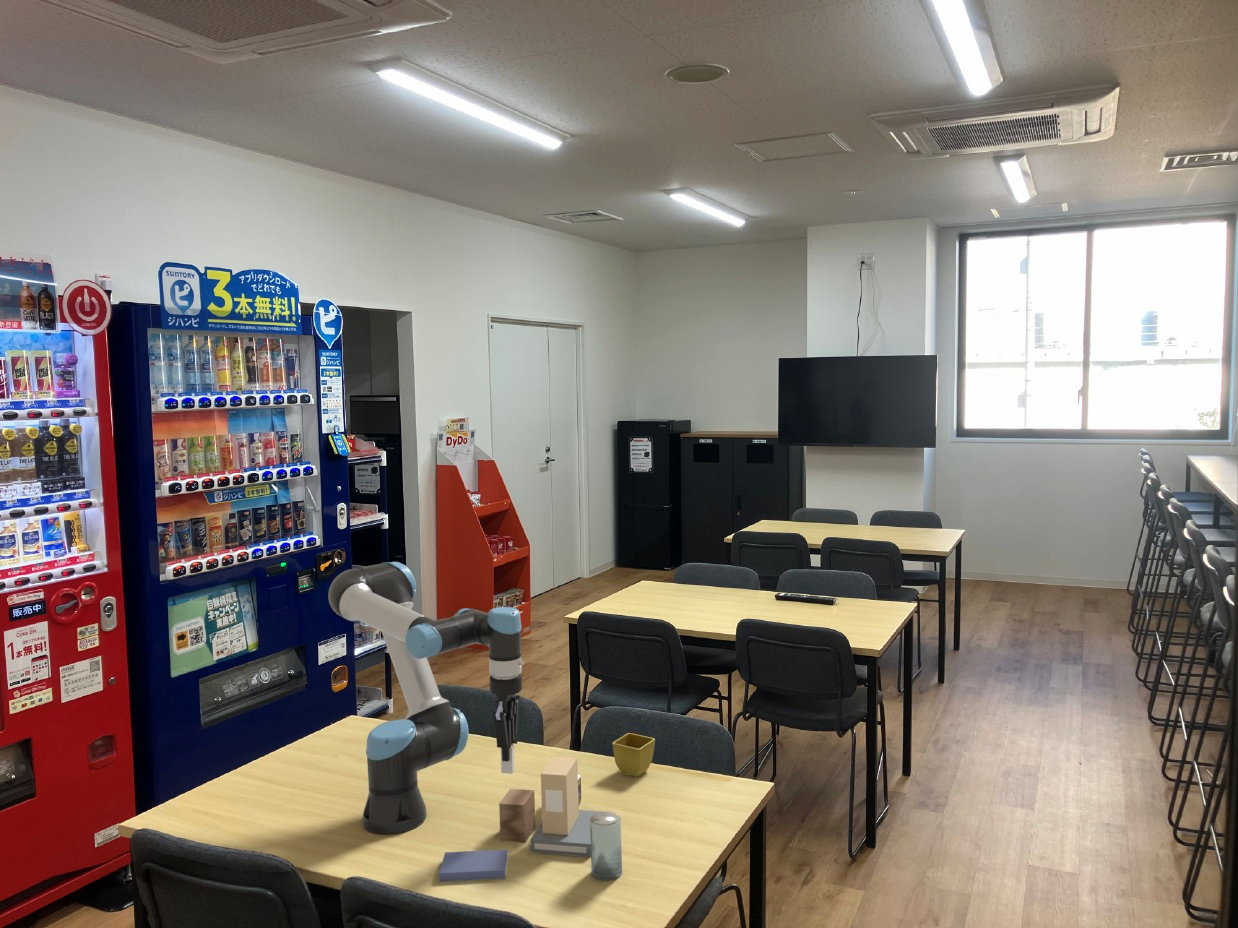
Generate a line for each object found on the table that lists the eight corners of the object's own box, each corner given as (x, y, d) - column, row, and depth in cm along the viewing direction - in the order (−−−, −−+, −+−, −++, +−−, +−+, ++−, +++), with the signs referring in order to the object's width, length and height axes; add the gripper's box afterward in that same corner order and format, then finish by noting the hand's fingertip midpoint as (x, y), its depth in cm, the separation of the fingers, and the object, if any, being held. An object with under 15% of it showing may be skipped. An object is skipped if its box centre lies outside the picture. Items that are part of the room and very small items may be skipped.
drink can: (588, 879, 195) (586, 823, 194) (595, 863, 202) (593, 809, 201) (618, 882, 194) (617, 825, 193) (624, 866, 200) (623, 811, 199)
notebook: (439, 883, 196) (439, 872, 196) (445, 862, 205) (445, 852, 205) (505, 880, 197) (505, 869, 197) (508, 859, 206) (508, 849, 206)
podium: (530, 852, 207) (530, 839, 207) (550, 819, 223) (550, 807, 223) (590, 857, 204) (590, 844, 204) (606, 823, 220) (606, 811, 220)
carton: (542, 833, 210) (540, 773, 209) (554, 813, 220) (552, 756, 219) (567, 835, 209) (565, 775, 207) (579, 814, 218) (577, 757, 217)
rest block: (500, 840, 213) (499, 803, 213) (511, 824, 221) (510, 788, 220) (525, 842, 212) (523, 804, 211) (535, 826, 220) (534, 790, 219)
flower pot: (656, 770, 251) (655, 737, 250) (640, 781, 243) (639, 748, 243) (629, 763, 256) (628, 732, 255) (612, 775, 248) (611, 742, 247)
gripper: (512, 684, 207) (514, 785, 209) (529, 666, 220) (531, 761, 222) (480, 682, 208) (483, 782, 211) (499, 664, 221) (501, 759, 223)
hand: (507, 771), depth 216 cm, fingers closed
